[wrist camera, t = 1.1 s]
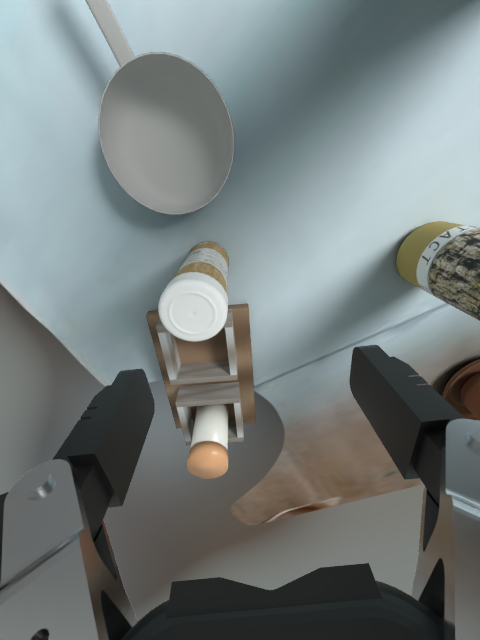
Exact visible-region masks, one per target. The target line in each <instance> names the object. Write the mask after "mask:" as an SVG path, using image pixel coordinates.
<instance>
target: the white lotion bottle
mask: <svg viewBox="0 0 480 640" xmlns="http://www.w3.org/2000/svg"><path fill="white" fill-rule="evenodd" d="M227 444H228V404H215V405H202V406H197V411H196V417H195V424H194V430H193V436H192V442H191V449H190V450H189V456H188V462H187V468H188V470H189V472H190V473H191V474H193V475H194V476H196V477H199V478H205V479H212V478H217V477H219V476H221V475H223V474H224V473H225V472H226V471H227V469H228V450H227V449H228V447H227V446H228V445H227Z"/></svg>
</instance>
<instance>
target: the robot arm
mask: <svg viewBox="0 0 480 640" xmlns="http://www.w3.org/2000/svg"><path fill="white" fill-rule="evenodd" d="M350 388H351V391H352V394H353V396H354V398H355V399H356V401H357V403H358V404H359V406H360V407H361V409H362V411H363V412H364V414H365V416H366V417H367V419H368V420H369V422H370V424H371V425H372V427H373V429H374V430H375V432H376V434H377V435H378V437H379V438H380V440H381V442H382V443H383V445H384V447H385V448H386V450H387V451H388V453H389V455H390V456H391V458H392V460H393V461H394V463H395V464H396V466H397V468H398V469H399V471H400V473H401V474H402V476H403V477H404V479H415V478H420V479H421V480H422V482H423V483H424V485H425V489H424V492H423V504H422V517H421V530H420V543H419V555H418V563H417V568H416V572H415V577H414V582H413V589H412V596H410V595H408V594H406V593H404V592H403V591H401V590H399V589H397V588H395V587H392V586H390V585H387V584H385V583H382V582H378V581H375V579H374V576H373V573H372V571H371V568H370V566H369V563H366V564H356V565H345V566H335V567H324V568H319V569H317V570H315V571H313V572H311V573H309V574H306V575H304V576H302V577H300V578H298V579H296V580H294V581H292V582H290V583H288V584H286V585H284V586H282V587H280V588H278V589H275V590H265V589H262V588H258V587H254V586H250V585H246V584H243V583H239V582H235V581H232V580H228V579H224V578H220V577H219V578H209V579H198V580H187V581H177V582H172V586H171V592H170V599H169V600H168V601H166V602H164V603H162V604H161V605H159V606H158V607H156V608H154V609H153V610H151V611H150V612H149V613H148V614H146V615H145V616H144V617H143V618H142V619H140V620H139V621H137V618H136V615H135V612H134V610H133V607H132V605H131V603H130V600H129V598H128V596H127V594H126V592H125V589H124V586H123V583H122V580H121V576H120V573H119V569H118V566H117V563H116V560H115V556H114V552H113V549H112V546H111V542H110V539H109V535H108V532H107V529H106V526H105V523H104V521H103V518H104V516H105V513H106V510H107V508H108V507H116V506H122V505H123V502H124V500H125V497H126V494H127V491H128V488H129V485H130V482H131V479H132V476H133V473H134V470H135V467H136V465H137V462H138V459H139V456H140V453H141V450H142V447H143V444H144V442H145V439H146V435H147V433H148V430H149V427H150V424H151V421H152V418H153V415H154V399H153V396H152V393H151V390H150V387H149V384H148V381H147V378H146V374H145V372H144V370H143V369H134V370H125V371H120V372H119V374H118V375H117V377H116V378H115V380H114V382H113V383H112V385H110V386H106V387H105V388H104V389H103V390H102V391H100V392H99V393H98V394H97V395H96V396H95V397H94V398H93V400H92V401H91V403H90V404H89V406H88V407H87V410H86V411H85V412H84V413H83V415H82V416H81V420H79V421H78V422H77V424H76V425H75V427H74V428H73V430H72V431H71V433H70V434H69V436H68V437H67V439H66V440H65V442H64V443H63V445H62V446H61V448H60V449H59V451H58V452H57V454H56V455H55V457H54V458H53V460H50V461H47V462H44V463H42V464H40V465H38V466H36V467H34V468H33V469H31V470H30V471H29V472H27V473H26V474H25V475H24V476H22V477H21V478H20V479H19V480H18V481H17V482H16V483H15V485H14V486H13V487H12V488H11V490H10V491H9V492H7V493H5V494H2V495H0V640H480V421H476V420H472V419H465V418H464V417H463V416H462V415H461V414H460V413H459V412H458V411H457V410H456V409H455V408H454V407H453V406H451V405H450V404H449V403H448V402H447V401H446V400H445V399H444V398H443V397H442V396H441V395H440V394H439V393H438V392H437V391H436V390H435V389H434V388H433V387H431V386H430V385H428V383H427V382H426V381H425V380H424V379H423V378H422V377H419V374H418V373H417V372H416V371H415V370H414V369H413V368H412V367H410V366H409V365H408V364H407V363H405V362H403V361H401V360H399V359H397V358H395V357H389V356H388V355H387V354H386V353H385V352H384V351H383V350H382V349H381V348H380V347H379V346H378V345H369V346H360V347H355V348H354V349H353V354H352V363H351V372H350Z"/></svg>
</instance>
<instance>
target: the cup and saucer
mask: <svg viewBox="0 0 480 640" xmlns="http://www.w3.org/2000/svg"><path fill="white" fill-rule="evenodd" d="M442 397H443V398H444V399H445V400H446V401H447V402H448V403H449V404H450V405H451V406H453V407H454V408H455V409H456V410H457V411H458V412H459V413H460V414H461V415H462V416H463V417H464V418H465V419H472V420H480V359H478V360H475V361H473V362H471V363H469V364H467V365H466V366H464V367H463V368H461V369H460V370H459V371H457V372H456V373H455V374H454V375H453V376H452V377H451V379H450V380H449V381H448V383H447V384H446V386H445V388H444V391H443V394H442Z"/></svg>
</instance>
